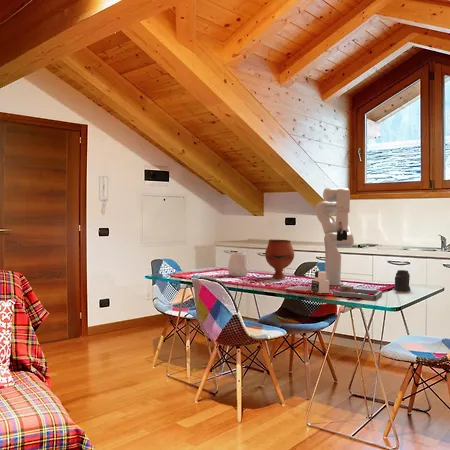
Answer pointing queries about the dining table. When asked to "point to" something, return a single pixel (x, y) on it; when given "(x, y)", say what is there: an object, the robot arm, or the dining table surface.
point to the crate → (346, 288)
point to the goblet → (279, 256)
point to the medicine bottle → (320, 283)
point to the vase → (238, 264)
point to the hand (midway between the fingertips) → (341, 240)
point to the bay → (364, 296)
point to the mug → (402, 281)
